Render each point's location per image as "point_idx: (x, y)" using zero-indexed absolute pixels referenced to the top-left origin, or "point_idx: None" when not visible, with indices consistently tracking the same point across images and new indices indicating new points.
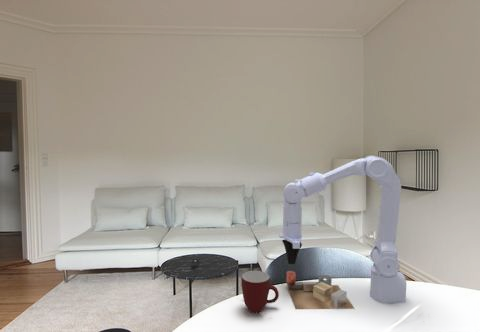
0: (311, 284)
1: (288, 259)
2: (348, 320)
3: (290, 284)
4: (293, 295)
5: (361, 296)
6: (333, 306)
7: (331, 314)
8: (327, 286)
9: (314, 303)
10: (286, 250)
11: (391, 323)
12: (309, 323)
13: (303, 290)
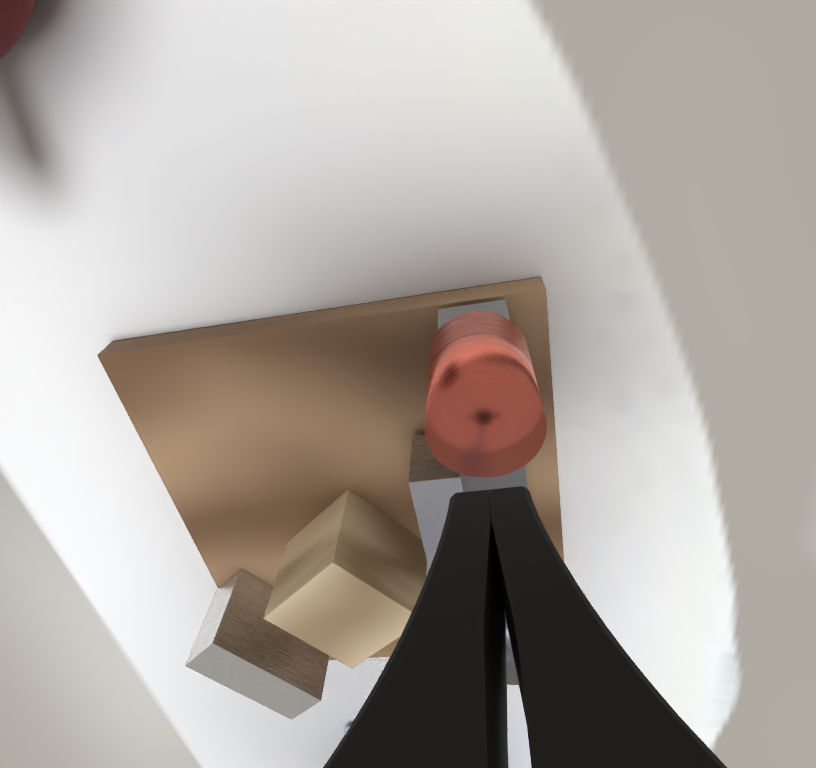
0: (422, 536)
1: (435, 557)
2: (158, 606)
3: (429, 355)
4: (333, 349)
5: None
6: (226, 585)
7: (189, 546)
8: (345, 643)
9: (243, 487)
10: (340, 750)
11: (209, 733)
12: (15, 422)
13: (412, 441)
